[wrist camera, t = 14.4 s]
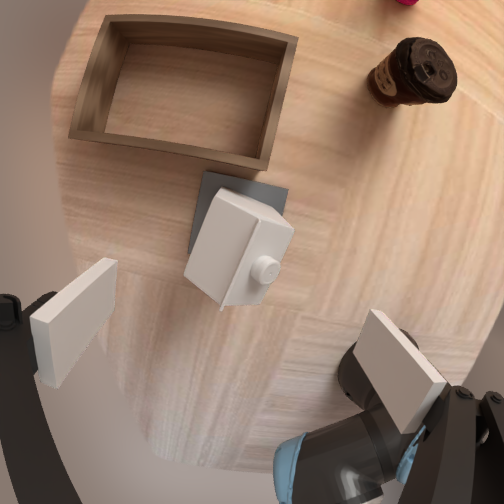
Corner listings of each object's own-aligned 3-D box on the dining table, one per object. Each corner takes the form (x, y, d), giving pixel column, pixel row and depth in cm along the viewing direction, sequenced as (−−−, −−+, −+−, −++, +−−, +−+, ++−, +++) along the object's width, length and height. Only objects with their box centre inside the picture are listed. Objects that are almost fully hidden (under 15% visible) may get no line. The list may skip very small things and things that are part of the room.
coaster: (267, 268, 42) (268, 269, 41) (188, 251, 41) (187, 253, 40) (287, 189, 40) (288, 189, 39) (204, 170, 38) (203, 170, 38)
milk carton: (200, 236, 40) (174, 293, 21) (221, 185, 38) (210, 200, 20) (251, 256, 41) (265, 327, 23) (273, 207, 39) (307, 241, 21)
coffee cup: (356, 107, 37) (403, 87, 24) (357, 55, 35) (400, 21, 22) (408, 120, 38) (464, 109, 25) (409, 70, 35) (460, 48, 23)
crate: (260, 170, 39) (266, 171, 31) (96, 142, 36) (68, 138, 28) (286, 59, 35) (298, 37, 27) (125, 37, 32) (105, 15, 24)
